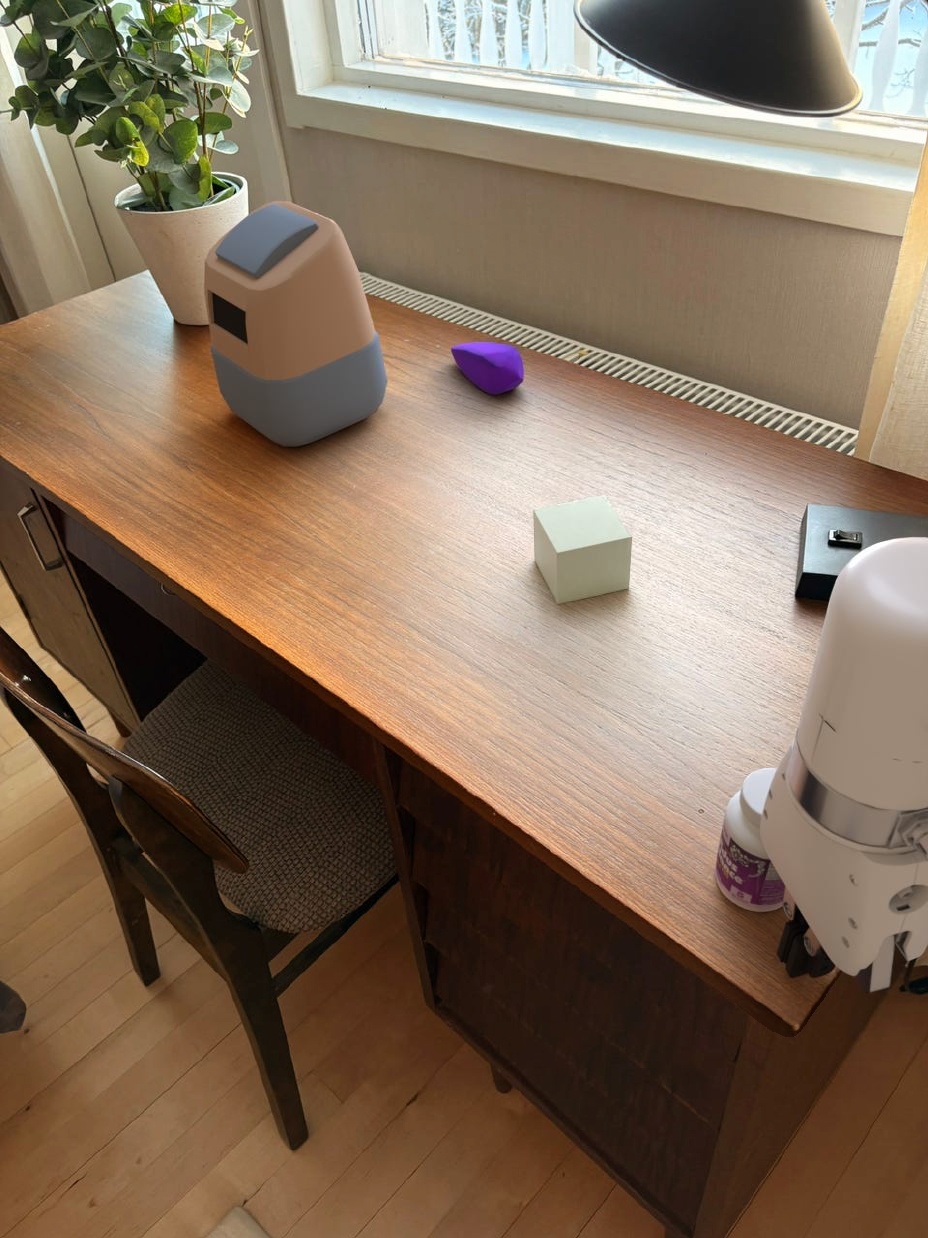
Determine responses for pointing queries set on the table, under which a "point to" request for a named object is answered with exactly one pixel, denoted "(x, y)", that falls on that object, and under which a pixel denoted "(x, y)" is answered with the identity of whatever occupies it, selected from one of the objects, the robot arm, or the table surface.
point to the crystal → (490, 365)
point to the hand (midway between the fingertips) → (805, 960)
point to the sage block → (582, 549)
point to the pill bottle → (748, 849)
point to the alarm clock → (292, 326)
